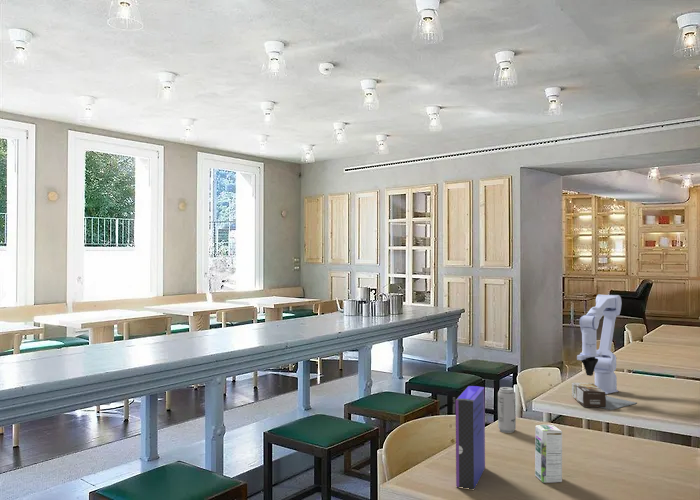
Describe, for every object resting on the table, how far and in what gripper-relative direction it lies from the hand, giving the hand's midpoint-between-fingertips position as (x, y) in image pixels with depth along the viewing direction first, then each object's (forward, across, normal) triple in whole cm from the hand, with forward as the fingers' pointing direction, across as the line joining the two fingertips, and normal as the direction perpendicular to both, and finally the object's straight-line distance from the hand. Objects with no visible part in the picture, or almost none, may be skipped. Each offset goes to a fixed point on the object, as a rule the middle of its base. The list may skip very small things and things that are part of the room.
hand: (589, 375), depth 252 cm
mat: (+10, 0, +8) cm, 13 cm away
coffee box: (+7, +1, -3) cm, 7 cm away
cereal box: (+10, +104, +34) cm, 110 cm away
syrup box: (+10, +88, +47) cm, 100 cm away
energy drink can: (+10, +63, +10) cm, 65 cm away
